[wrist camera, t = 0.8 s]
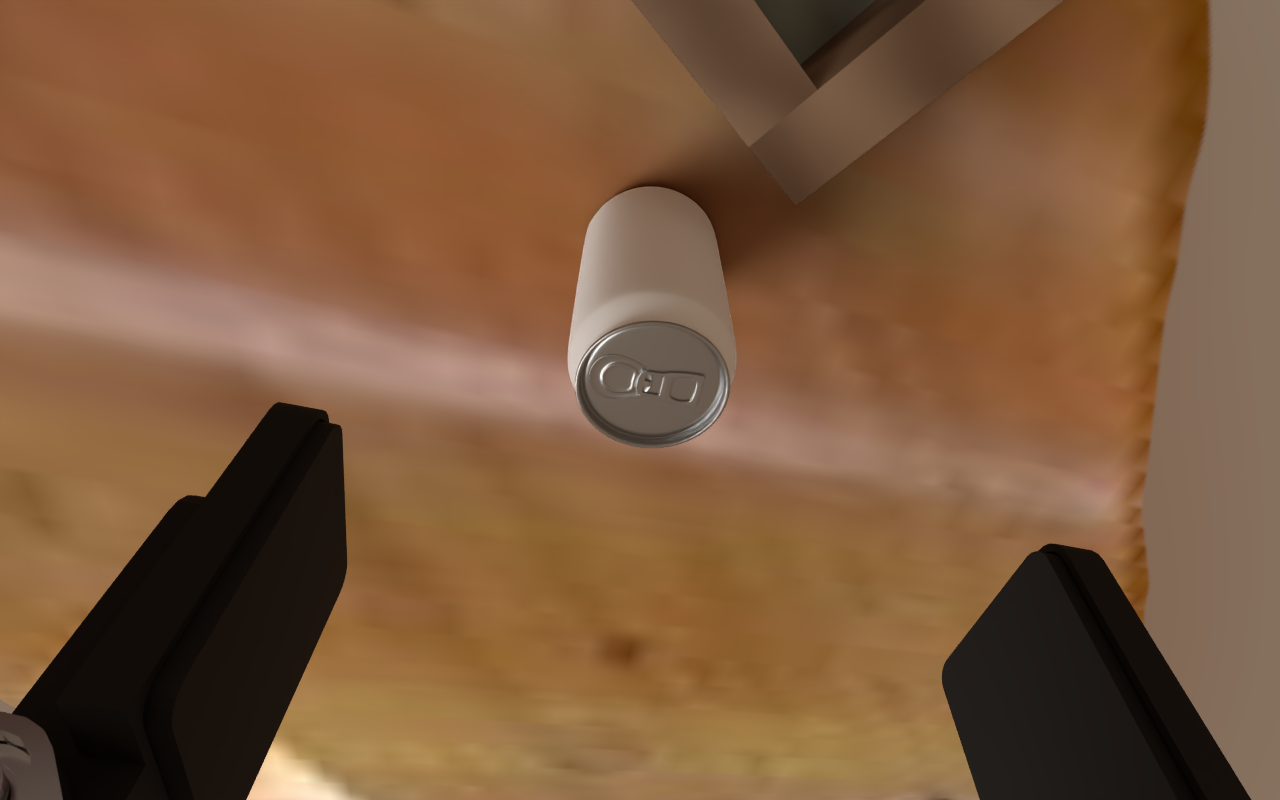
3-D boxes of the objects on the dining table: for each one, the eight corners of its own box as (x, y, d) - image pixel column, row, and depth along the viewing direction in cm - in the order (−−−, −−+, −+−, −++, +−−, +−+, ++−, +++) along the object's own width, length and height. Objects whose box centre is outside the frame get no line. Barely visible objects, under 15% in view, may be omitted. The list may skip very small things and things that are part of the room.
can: (595, 170, 34) (576, 296, 24) (731, 196, 35) (765, 328, 25) (575, 293, 38) (552, 443, 28) (699, 314, 38) (716, 468, 29)
